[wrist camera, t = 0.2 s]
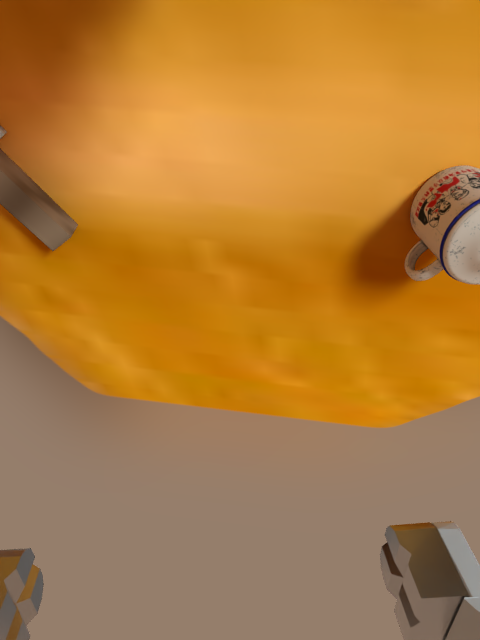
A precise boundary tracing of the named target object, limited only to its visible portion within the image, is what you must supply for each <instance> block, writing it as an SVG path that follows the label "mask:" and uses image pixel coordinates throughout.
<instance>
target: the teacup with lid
mask: <svg viewBox="0 0 480 640" xmlns="http://www.w3.org/2000/svg"><path fill="white" fill-rule="evenodd" d="M410 220H411V225H412V228H413V230H414V231H415V233H416V234H417V235H418V237H419V238H420V239H421V240H420V241H419V242H418V243H417V244H416V245H415V246H414V247H413V248H412V249H411V250H410V251H409V253H408V254H407V256H406V259H405V270H406V273H407V274H408V275H409V276H410V277H411V278H412V279H414V280H416V281H422V280H427V279H429V278H431V277H433V276H435V275H436V274H438V273H439V272H440V271H442V270H443V269H444V270H445V271H446V273H447V274H448V275H449V276H451V277H452V278H454V279H455V280H458V281H461V282H463V283H467V284H480V169H478V168H475V167H472V166H455V167H451V168H448V169H445V170H443V171H441V172H439V173H437V174H436V175H434V176H433V177H432V178H430V179H429V180H428V181H427V182H426V183H425V184H424V185H423V186H422V187H421V189H420V190H419V191H418V193H417V195H416V196H415V198H414V201H413V203H412V207H411V213H410ZM428 248H429V249H430V250H431V251H432V253H433V254H434V255H435V256H436V257H437V258H438V259H437V260H435V261H434V262H433V263H432V264H430V265H429V266H427V267H426V268H424V269H422V270H417V271H415V263H416V260H417V259H418V257H419V256H420V255H421V254H422V253H423V252H424V251H425V250H427V249H428Z"/></svg>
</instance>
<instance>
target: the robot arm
mask: <svg viewBox="0 0 480 640" xmlns="http://www.w3.org/2000/svg"><path fill="white" fill-rule="evenodd" d="M385 537H386V539H387V543H386V544H384V545H383V546H382V549H381V554H380V560H381V570H382V574H383V578H384V581H385V585H386V588H387V590H388V591H389V592H390V593H391V594H392V595H393V596H394V597H395V598H396V599H397V602H396V606H395V609H394V612H395V615H396V618H397V620H398V624H399V627H400V629H401V632H402V635H403V638H404V640H480V565H479V563H478V562H477V560H476V558H475V556H474V554H473V552H472V551H471V549H470V547H469V545H468V543H467V541H466V540H465V538H464V536H463V534H462V532H461V530H460V528H459V527H458V526H457V525H456V524H455V523H454V522H451V521H450V522H435V523H429V522H428V523H416V524H404V525H392V526H388V527H387V528H386V532H385ZM34 558H35V556H34V554H33V552H32V550H31V548H28V549H10V550H0V640H29V639H30V634H29V631H28V628H27V624H28V623H29V622H30V621H31V620H32V619H33V618H34V617H35V616H36V615H37V613H38V610H39V606H40V603H41V600H42V593H43V585H44V584H43V575H42V572H41V570H40V568H38V567H37V566H35V565H33V561H34Z"/></svg>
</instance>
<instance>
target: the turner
mask: <svg viewBox="0 0 480 640" xmlns="http://www.w3.org/2000/svg"><path fill="white" fill-rule="evenodd" d="M6 133H7V131H6V130H5V129H4V128H3V127H2V126H1V125H0V139H1V138H2V137H3V136H4V135H5V134H6ZM0 204H1V205H2V206H3V207H5V208H6V209H7V210H8V211H9V212H10V213H11V214H12V215H13V216H15V217H16V218H17V219H18V220H19V221H20V222H21V223H22V224H23V225H24V226H26V227H27V228H28V229H29V230H30V231H31V232H32V233H33V234H34V235H36V236H37V237H38V238H39V239H40V240H41V241H42V242H43V243H44V244H46V245H47V246H48V247H49V248H50V249H51V250H52V251H54V250H55V249H56V248H58V247H59V246H60V245H62V244H63V243H64V242H65V241H67V240H68V239H69V238H70V237H71V236H72V234H73V233H74V231H75V229H76V227H77V226H78V224H77V223H76V222H75V221H74V220H73V219H72V218H71V217H70V216H69V215H68V214H67V213H66V212H65V211H63V210H62V209H61V208H60V207H59V206H58V205H57V204H56V203H55V202H54V201H53V200H52V199H51V198H50V197H49V196H48V195H47V194H46V193H45V192H44V191H43V190H42V189H41V188H40V187H39V186H38V185H37V184H36V183H35V182H34V181H33V180H32V179H31V178H30V177H29V176H28V175H27V174H26V173H25V172H24V171H23V170H22V169H21V168H20V167H19V166H17V165H16V164H15V163H14V162H13V161H12V160H11V159H10V158H9V157H8V156H7V155H6V154H5V153H4V152H3V151H2V150H1V149H0Z"/></svg>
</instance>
